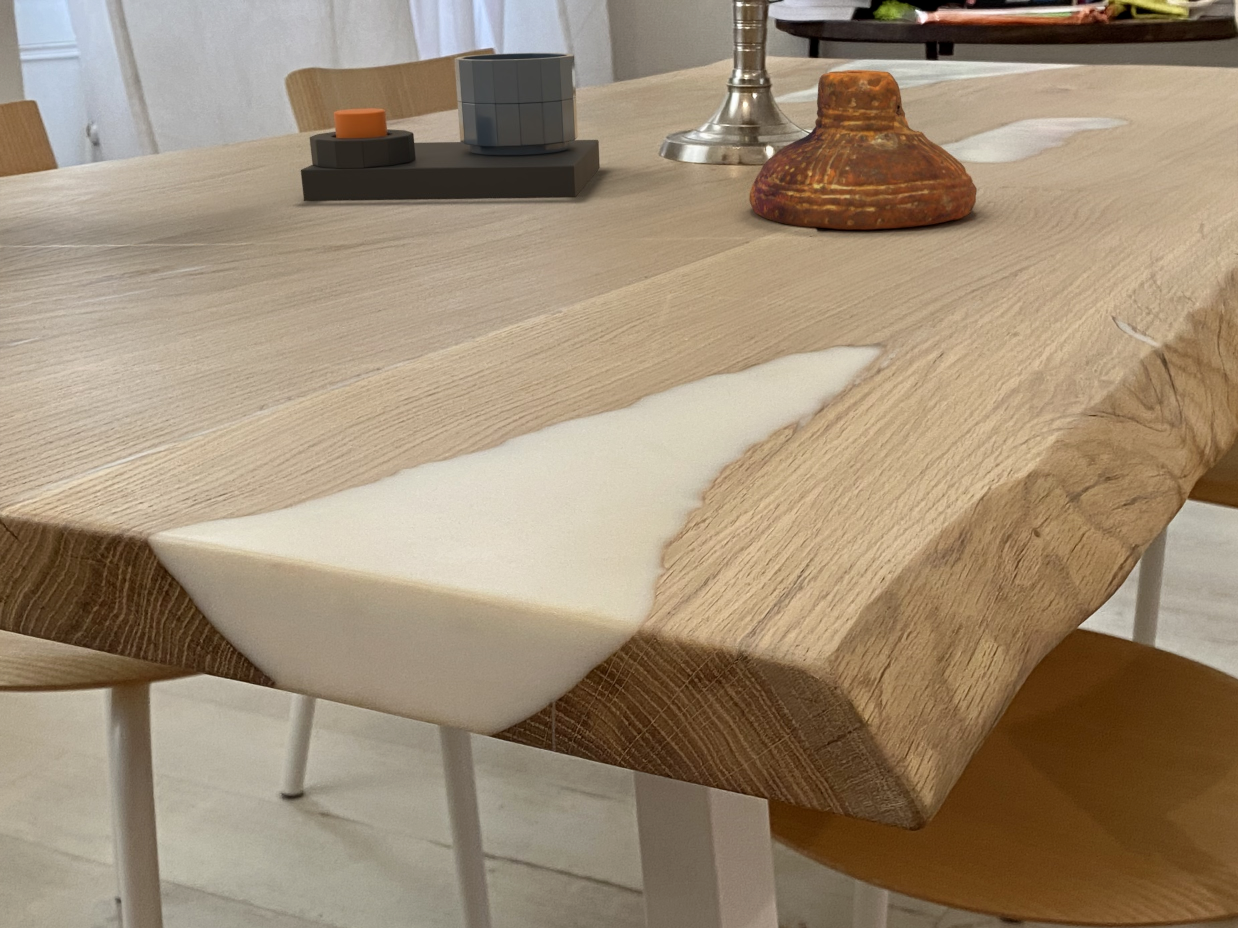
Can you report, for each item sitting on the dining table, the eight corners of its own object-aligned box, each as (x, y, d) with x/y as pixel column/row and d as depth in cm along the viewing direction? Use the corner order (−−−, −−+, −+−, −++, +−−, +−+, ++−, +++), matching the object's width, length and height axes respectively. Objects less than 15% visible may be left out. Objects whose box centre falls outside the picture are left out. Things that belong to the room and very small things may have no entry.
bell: (795, 192, 84) (796, 61, 81) (1001, 202, 79) (1009, 63, 76) (711, 224, 74) (709, 76, 71) (940, 238, 69) (946, 79, 66)
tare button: (330, 144, 85) (327, 113, 84) (344, 138, 88) (341, 108, 87) (380, 143, 85) (378, 112, 84) (393, 137, 87) (390, 108, 87)
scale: (303, 202, 85) (296, 141, 83) (362, 172, 97) (356, 118, 95) (575, 198, 83) (572, 136, 82) (599, 169, 96) (597, 114, 94)
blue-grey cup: (451, 158, 87) (444, 61, 86) (474, 144, 94) (467, 54, 92) (569, 156, 87) (565, 58, 85) (583, 142, 94) (579, 52, 92)
